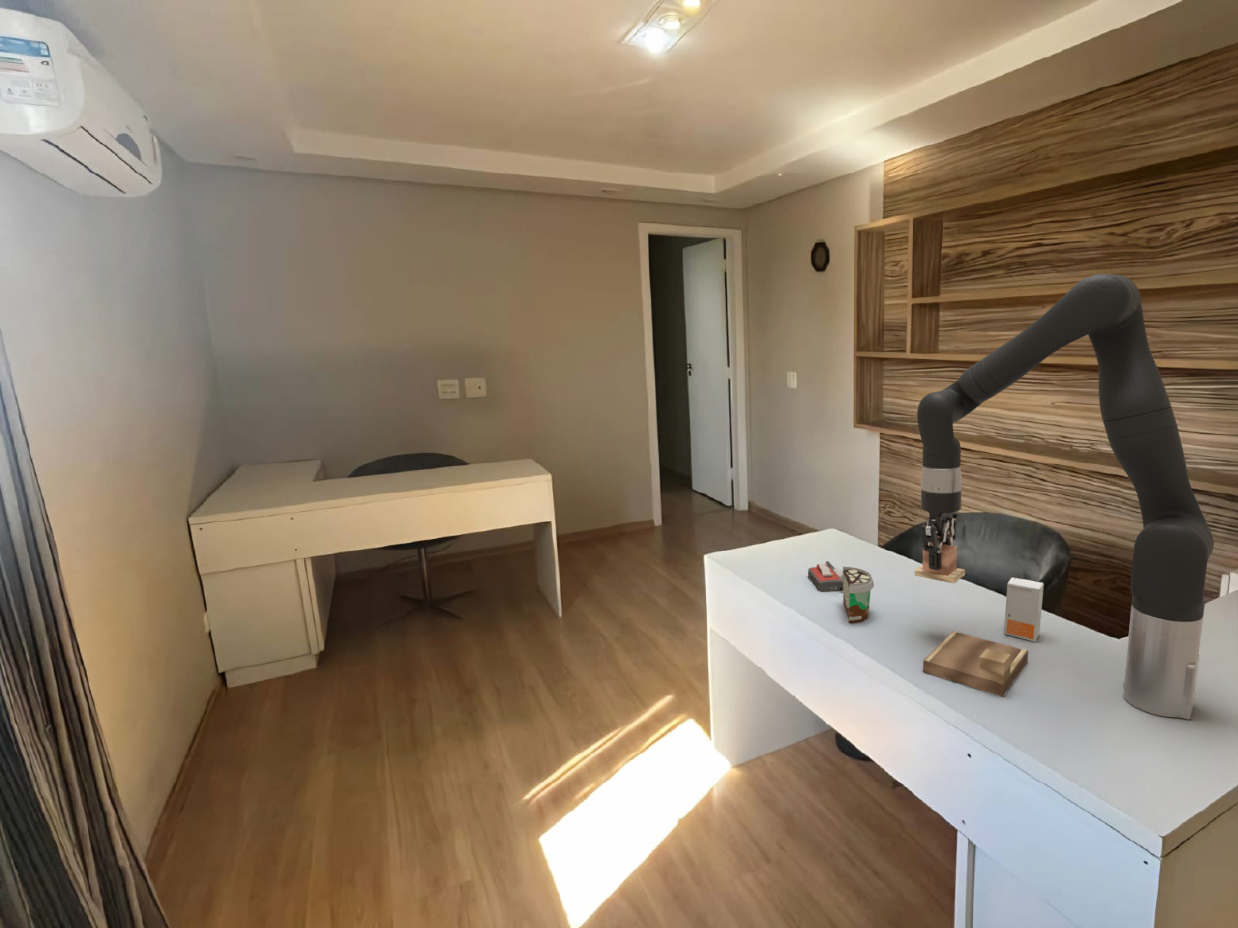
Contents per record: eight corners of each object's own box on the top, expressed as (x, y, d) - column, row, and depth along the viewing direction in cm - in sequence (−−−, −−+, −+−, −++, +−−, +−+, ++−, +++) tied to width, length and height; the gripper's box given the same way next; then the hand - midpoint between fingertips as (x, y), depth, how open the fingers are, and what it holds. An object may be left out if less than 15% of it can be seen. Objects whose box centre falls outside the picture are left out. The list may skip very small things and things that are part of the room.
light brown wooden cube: (1010, 674, 119) (1010, 654, 118) (1003, 683, 116) (1003, 662, 115) (986, 668, 122) (986, 648, 121) (979, 676, 119) (979, 656, 118)
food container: (878, 626, 146) (878, 585, 144) (849, 625, 148) (849, 584, 146) (868, 604, 158) (869, 565, 156) (842, 603, 159) (842, 565, 157)
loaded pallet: (964, 574, 136) (965, 546, 135) (954, 583, 132) (954, 554, 131) (925, 567, 141) (925, 540, 140) (914, 575, 137) (914, 547, 136)
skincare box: (1003, 634, 139) (1006, 582, 136) (1008, 627, 142) (1011, 576, 140) (1036, 642, 135) (1039, 588, 132) (1040, 635, 138) (1044, 582, 135)
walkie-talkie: (854, 593, 166) (830, 566, 185) (854, 577, 165) (830, 551, 185) (820, 595, 166) (800, 568, 186) (820, 579, 165) (800, 553, 185)
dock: (1027, 662, 127) (1028, 650, 127) (1002, 696, 116) (1003, 683, 116) (952, 641, 137) (952, 630, 137) (922, 671, 126) (923, 659, 126)
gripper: (947, 496, 126) (946, 579, 129) (972, 482, 135) (970, 559, 138) (908, 492, 131) (908, 571, 134) (935, 478, 141) (934, 553, 144)
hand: (939, 565), depth 136 cm, fingers closed on loaded pallet, 5 cm apart
